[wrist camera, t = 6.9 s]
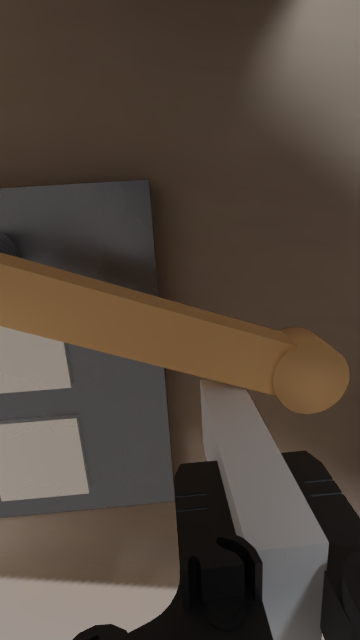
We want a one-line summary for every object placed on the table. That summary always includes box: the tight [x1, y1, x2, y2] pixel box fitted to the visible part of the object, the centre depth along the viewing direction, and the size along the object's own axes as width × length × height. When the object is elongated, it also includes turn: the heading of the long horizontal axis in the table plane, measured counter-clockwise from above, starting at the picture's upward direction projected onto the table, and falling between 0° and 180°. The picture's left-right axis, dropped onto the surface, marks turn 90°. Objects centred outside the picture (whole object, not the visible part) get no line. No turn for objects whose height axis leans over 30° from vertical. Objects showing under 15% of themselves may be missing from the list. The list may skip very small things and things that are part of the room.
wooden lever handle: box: [0, 252, 350, 414], centre depth 11 cm, size 12×2×2 cm, turn 73°
